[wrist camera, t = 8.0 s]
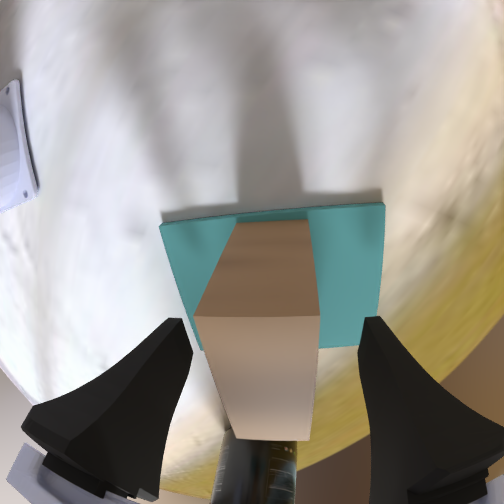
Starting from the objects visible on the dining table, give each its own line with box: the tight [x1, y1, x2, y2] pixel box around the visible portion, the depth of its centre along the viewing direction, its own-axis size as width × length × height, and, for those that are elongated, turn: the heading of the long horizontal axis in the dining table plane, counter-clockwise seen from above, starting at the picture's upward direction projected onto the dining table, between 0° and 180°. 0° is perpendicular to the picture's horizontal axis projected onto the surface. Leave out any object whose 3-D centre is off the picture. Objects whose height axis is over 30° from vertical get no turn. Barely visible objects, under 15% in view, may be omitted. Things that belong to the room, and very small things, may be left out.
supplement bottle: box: [210, 427, 297, 504], centre depth 16 cm, size 7×7×12 cm
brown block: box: [193, 219, 320, 441], centre depth 11 cm, size 7×3×6 cm, turn 7°
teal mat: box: [159, 202, 385, 350], centre depth 13 cm, size 10×8×1 cm
